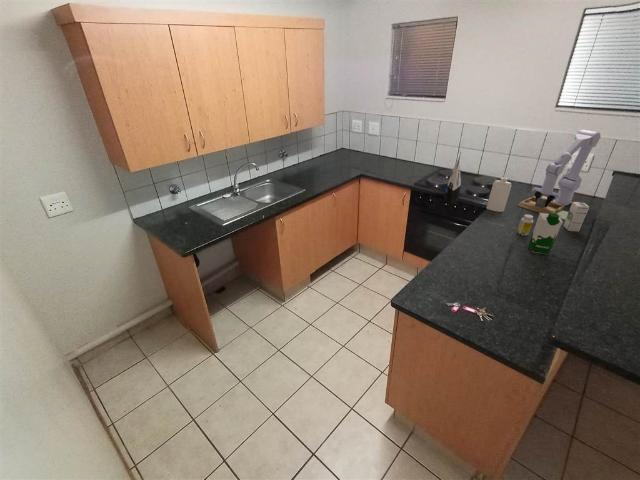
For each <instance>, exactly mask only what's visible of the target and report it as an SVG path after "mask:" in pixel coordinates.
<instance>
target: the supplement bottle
mask: <svg viewBox="0 0 640 480" xmlns="http://www.w3.org/2000/svg"><path fill="white" fill-rule="evenodd" d="M533 224H534V216H533V215H532V214H524V216H523V217H522V218H521V219H520V221H519V224H518V227H517V230H516V233H517V232H518V233H519V235H520V234H521V235H520V236H529V235H530V232H531V230H532V226H533ZM518 233H517V234H518Z"/></svg>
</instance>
